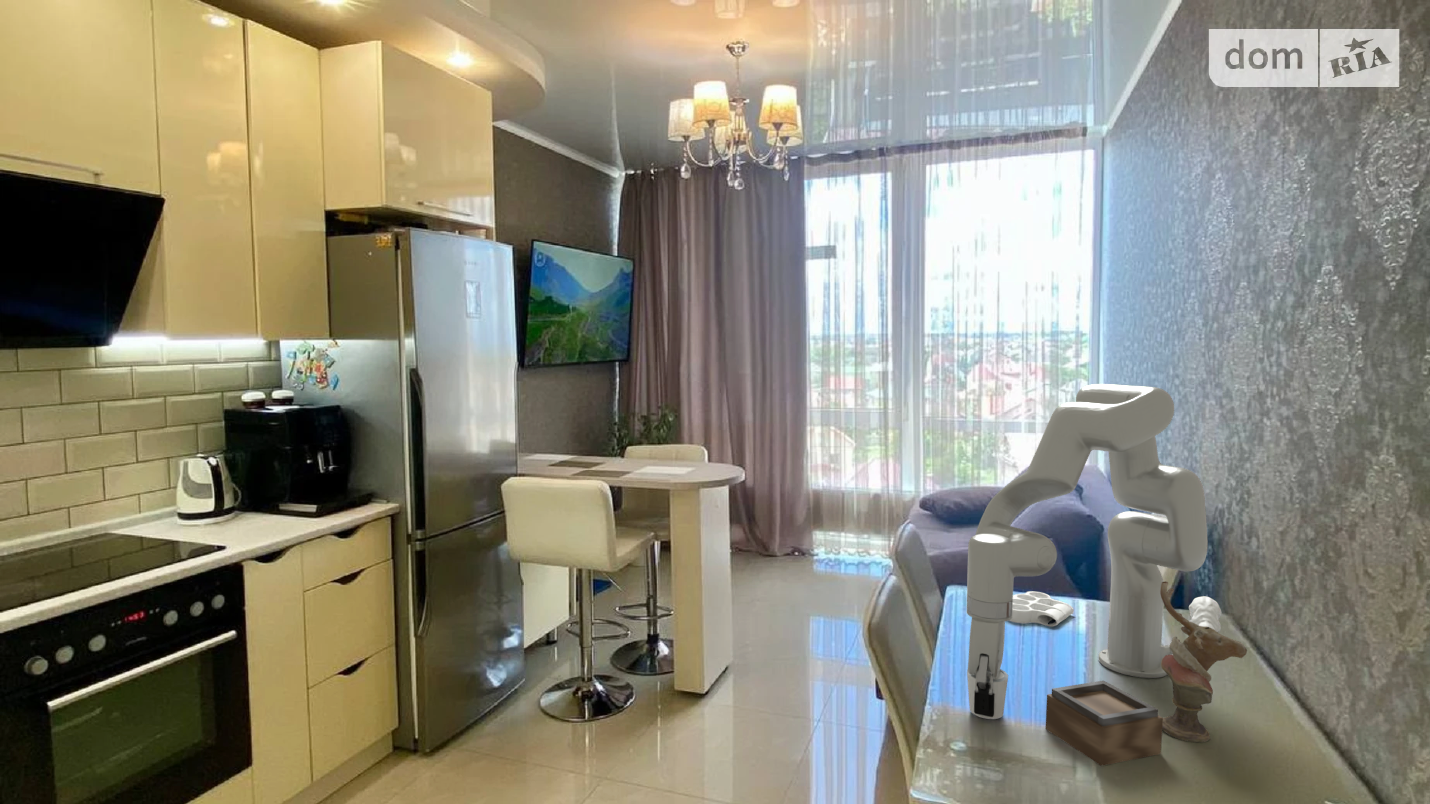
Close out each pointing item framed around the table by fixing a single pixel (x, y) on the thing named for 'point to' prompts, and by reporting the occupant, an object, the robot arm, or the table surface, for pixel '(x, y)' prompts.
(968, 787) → the table surface
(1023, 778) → the table surface
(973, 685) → the white short cylinder
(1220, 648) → the decorative bust
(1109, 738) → the display riser
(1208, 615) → the white lumpy piece
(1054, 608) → the white flat perforated piece
